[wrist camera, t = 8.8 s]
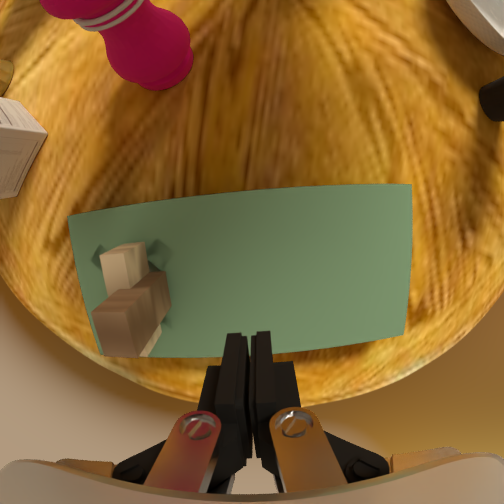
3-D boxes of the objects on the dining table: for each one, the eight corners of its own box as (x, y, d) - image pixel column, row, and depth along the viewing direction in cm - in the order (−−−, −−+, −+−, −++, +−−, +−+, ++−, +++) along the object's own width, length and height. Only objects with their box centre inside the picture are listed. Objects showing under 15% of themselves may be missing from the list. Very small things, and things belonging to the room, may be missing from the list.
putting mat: (91, 211, 26) (67, 216, 22) (388, 183, 25) (411, 184, 21) (117, 334, 29) (100, 354, 25) (385, 315, 28) (403, 334, 24)
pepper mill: (212, 48, 22) (158, -108, 3) (172, 106, 24) (39, -6, 4) (155, 28, 22) (67, -91, 2) (118, 82, 23) (-20, 1, 4)
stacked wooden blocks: (122, 243, 22) (67, 271, 14) (160, 239, 22) (115, 268, 14) (141, 332, 23) (104, 385, 16) (177, 332, 23) (148, 390, 16)
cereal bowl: (519, 78, 21) (548, 70, 14) (447, 48, 21) (479, 29, 14) (485, -6, 17) (507, -20, 10) (408, -40, 17) (427, -64, 10)
